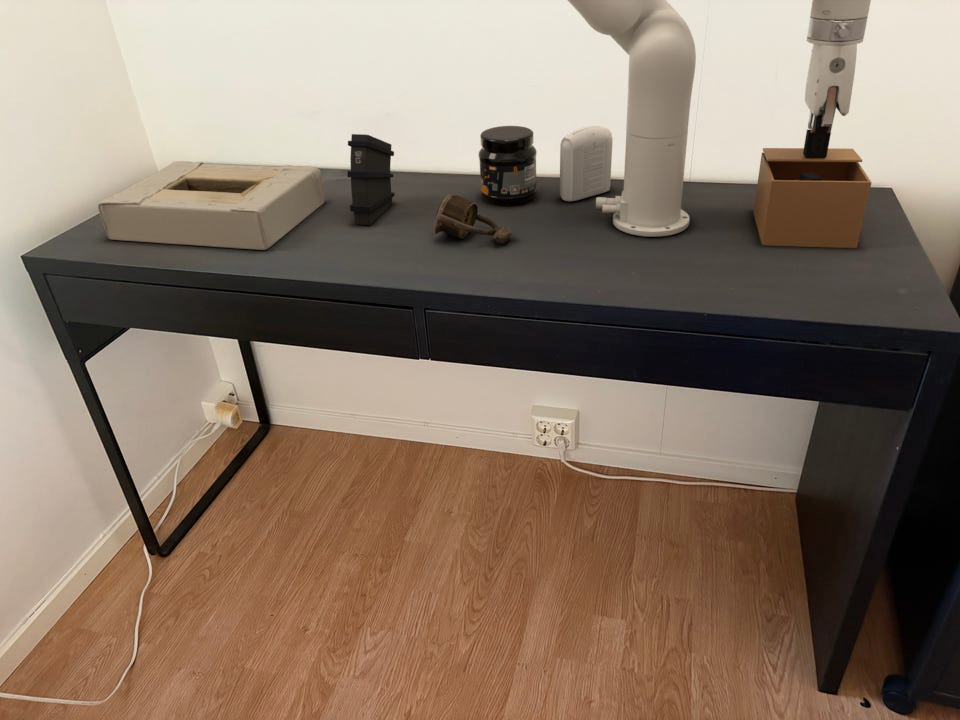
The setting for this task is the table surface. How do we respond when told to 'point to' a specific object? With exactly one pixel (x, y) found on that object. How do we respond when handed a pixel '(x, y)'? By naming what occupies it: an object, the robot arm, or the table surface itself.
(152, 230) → the box
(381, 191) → the black banded case
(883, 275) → the table surface
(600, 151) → the white rounded upright block
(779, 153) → the flap
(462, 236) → the brown knobbed piece
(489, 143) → the supplement container
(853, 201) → the carton
